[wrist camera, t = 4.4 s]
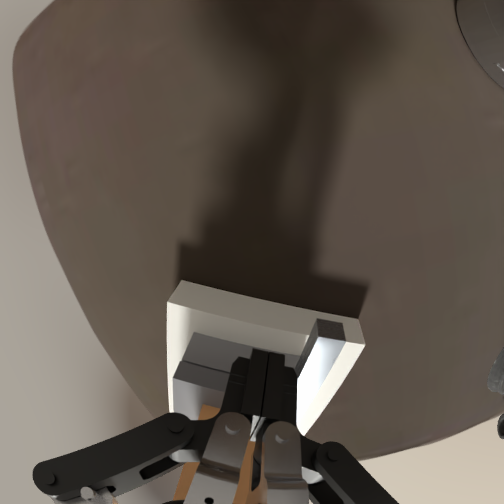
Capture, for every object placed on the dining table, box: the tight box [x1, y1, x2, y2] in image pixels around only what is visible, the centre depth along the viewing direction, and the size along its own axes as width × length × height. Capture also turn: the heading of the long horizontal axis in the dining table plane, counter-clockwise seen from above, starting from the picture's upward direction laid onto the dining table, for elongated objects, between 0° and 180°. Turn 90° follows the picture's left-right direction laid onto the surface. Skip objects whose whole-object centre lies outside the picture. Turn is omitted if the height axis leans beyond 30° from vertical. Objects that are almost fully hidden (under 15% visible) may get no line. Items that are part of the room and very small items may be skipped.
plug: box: [173, 361, 255, 504], centre depth 15 cm, size 8×8×12 cm
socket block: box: [167, 280, 365, 436], centre depth 22 cm, size 20×14×8 cm
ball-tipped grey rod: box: [294, 318, 346, 423], centre depth 15 cm, size 18×2×1 cm, turn 169°
